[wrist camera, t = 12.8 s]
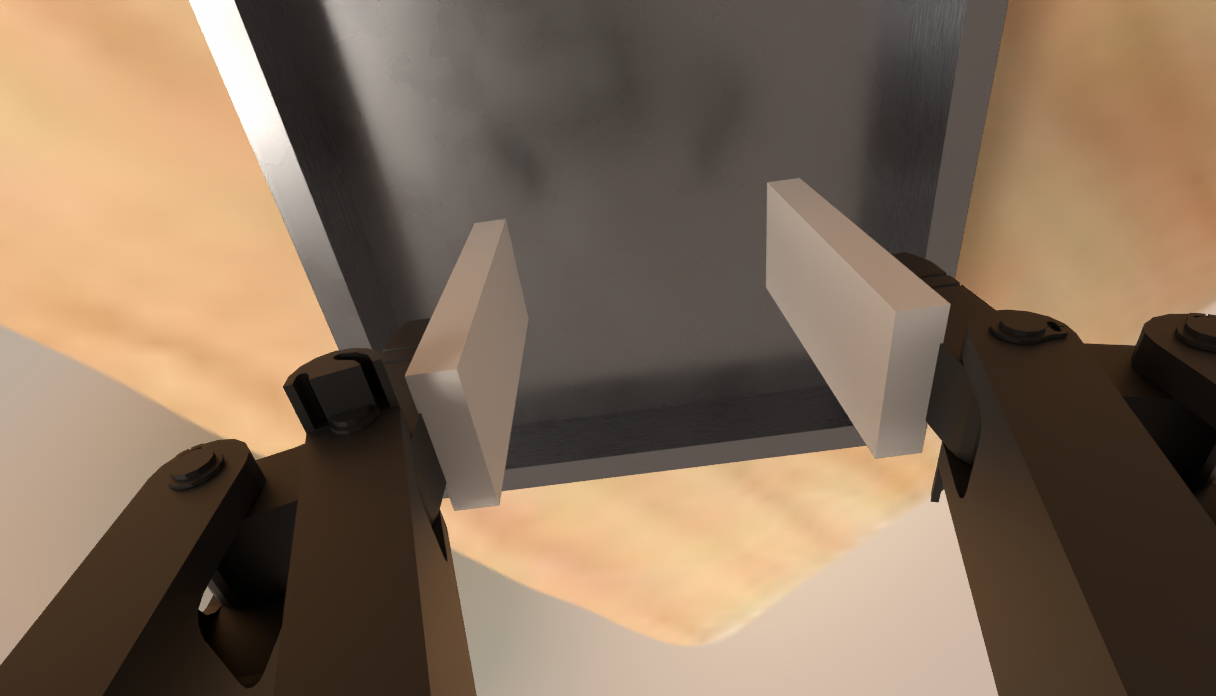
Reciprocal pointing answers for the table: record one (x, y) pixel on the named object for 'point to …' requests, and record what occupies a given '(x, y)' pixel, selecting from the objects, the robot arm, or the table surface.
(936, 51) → the grey square tray
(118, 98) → the table surface
